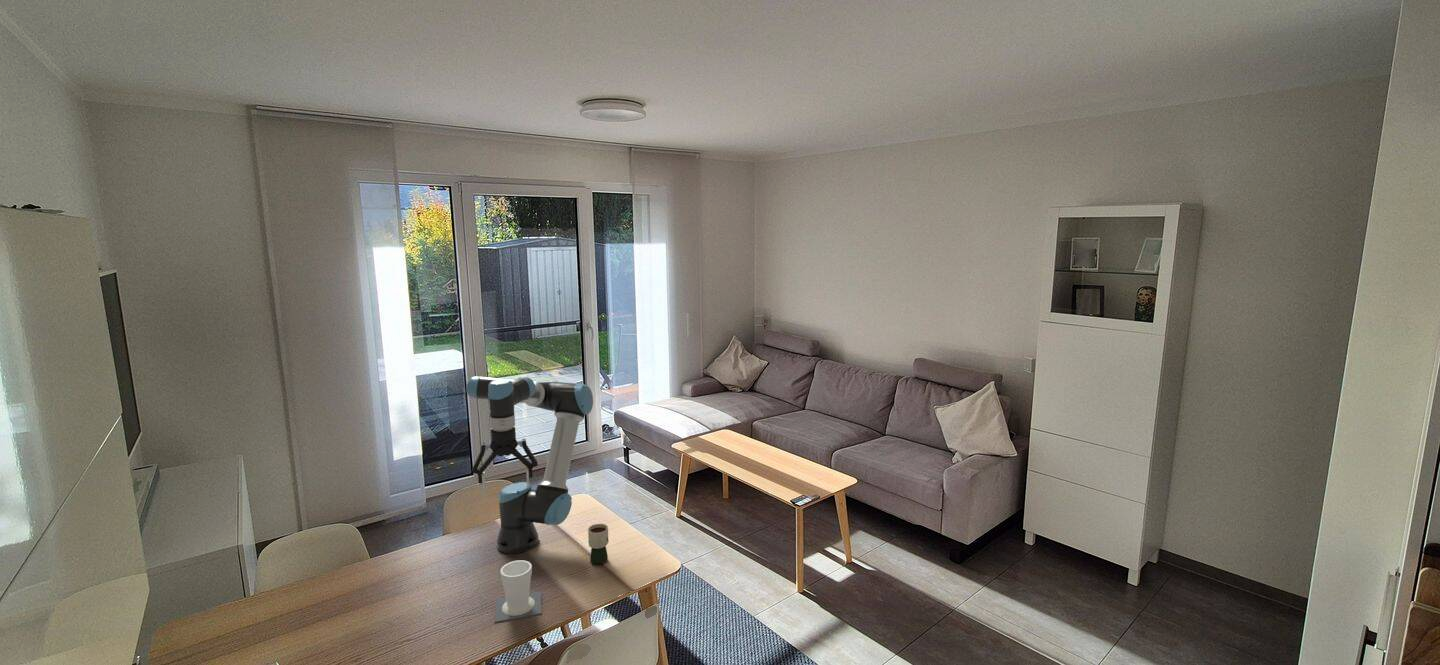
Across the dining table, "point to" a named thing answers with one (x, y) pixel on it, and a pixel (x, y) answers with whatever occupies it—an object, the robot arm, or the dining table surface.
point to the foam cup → (516, 584)
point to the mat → (505, 614)
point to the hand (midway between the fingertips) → (506, 489)
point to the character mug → (598, 543)
